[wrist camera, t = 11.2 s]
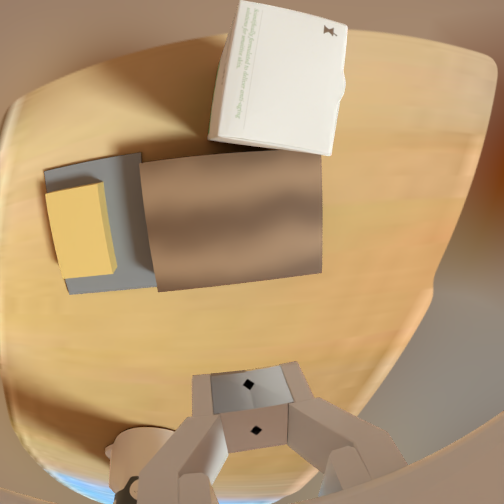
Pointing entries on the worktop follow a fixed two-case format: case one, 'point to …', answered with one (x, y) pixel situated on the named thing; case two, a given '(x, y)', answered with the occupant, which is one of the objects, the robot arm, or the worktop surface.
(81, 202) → the yellow rectangular block
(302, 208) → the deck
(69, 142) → the worktop surface
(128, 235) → the mat
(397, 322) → the worktop surface
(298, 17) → the skincare box
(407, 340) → the worktop surface
